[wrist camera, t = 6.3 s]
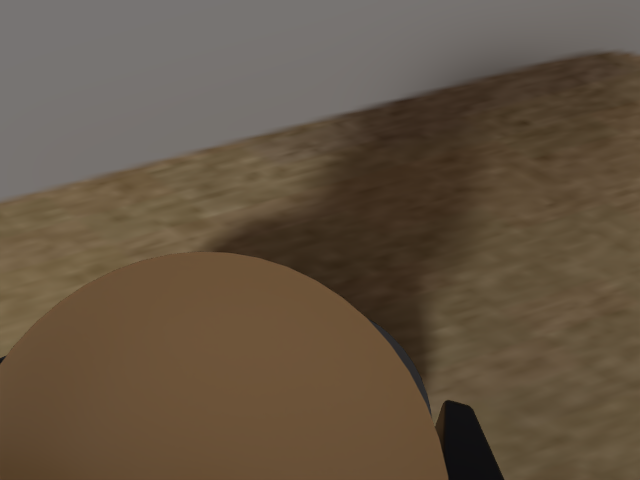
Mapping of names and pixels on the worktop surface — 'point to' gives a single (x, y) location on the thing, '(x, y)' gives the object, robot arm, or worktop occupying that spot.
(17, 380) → the tan rounded stopper
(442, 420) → the robot arm
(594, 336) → the worktop surface
